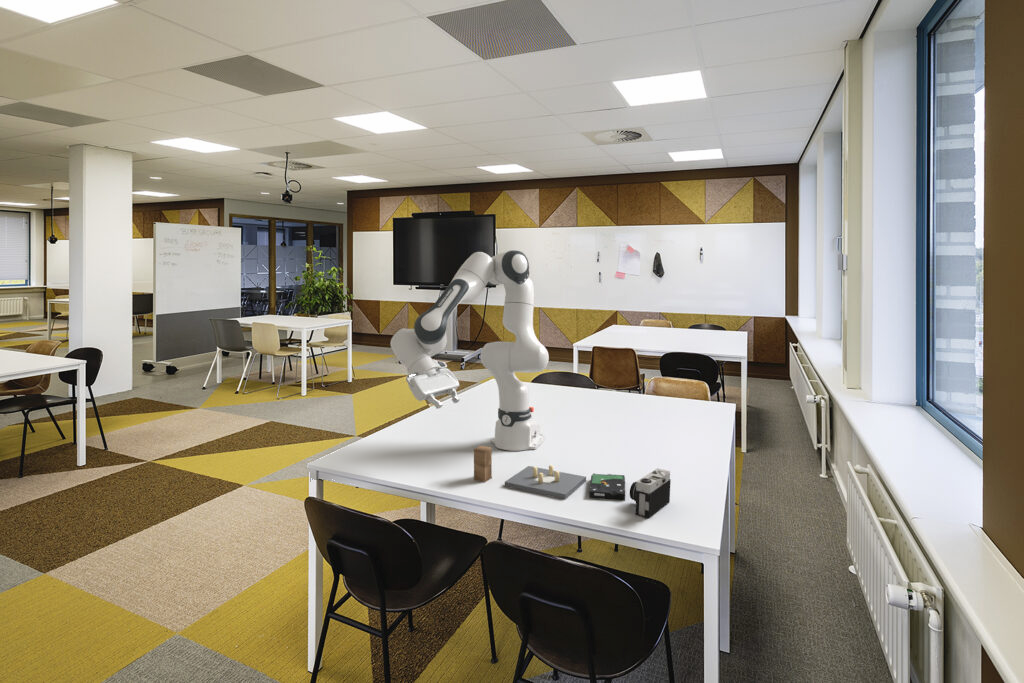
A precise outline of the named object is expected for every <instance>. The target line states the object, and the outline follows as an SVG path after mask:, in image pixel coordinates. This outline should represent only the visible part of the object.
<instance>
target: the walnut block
mask: <svg viewBox="0 0 1024 683" xmlns="http://www.w3.org/2000/svg"><path fill="white" fill-rule="evenodd" d="M492 461H493V460H492V446H490V447H489V446H484V445H479V446H477V447H475V448H473V480H474V481H477V482H482V483H486V482H488V481H489V480H491V479H492V477H493V476H492V475H493V474H492V473H493V471H492V470H493V468H492V465H493V464H492Z"/></svg>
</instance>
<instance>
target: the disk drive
mask: <svg viewBox="0 0 1024 683" xmlns="http://www.w3.org/2000/svg"><path fill="white" fill-rule="evenodd" d="M625 478H626V477H625V475H624V474H623V475H622V474H611V473H610V474H609V473H607V474H601V473H592V474H591V476H590V484H589V490H588V491H589V497H588V498H589V499H597V500H599V499H600V500H611V501H621V502H622V501H624V502H625V501H626V485H625V484H626V479H625Z"/></svg>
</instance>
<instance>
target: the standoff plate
mask: <svg viewBox="0 0 1024 683" xmlns="http://www.w3.org/2000/svg"><path fill="white" fill-rule="evenodd" d="M586 482H587V476H584V475H578V474H573V473H569V472H563V471H558V470H554V465H552V464H551V465H548V469H547V468H543V467H538V466H531V465H528V466H526V467H525V468H523V469H522V470H520V471H519V472H518V473H516V474H514V475H513V476H512V477H510V478H508V479H506V480H505V481H504V487H505V488H510V489H514V490H519V491H525V492H529V493H533V494H539V495H543V496H548V497H553V498H555V499H557V498H558V499H561V500H567V499H568V498H569V497H570V496H571V495H572V494H574V493H575V492H576V491H577V490H579V488H580V487H582V486H583V485H584V484H585V483H586Z"/></svg>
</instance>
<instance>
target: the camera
mask: <svg viewBox="0 0 1024 683" xmlns="http://www.w3.org/2000/svg"><path fill="white" fill-rule="evenodd" d="M670 476H671V471H669V470H667V469H662V468H656V469H654V470H652V471H650V472H649V473H648V474H646V475H644V476H643V477H640V479H638V480H636V481H634V482H632V484H631V485H630V488H629V497H630V499H631V500H633V501H634V502H635V511H634V512H635V514H634V515H635V516H637V517H641V518H645V519H651V517H652V516H654V515H655V514H656V513H657V512H659V511H660V510H661V509H662V508H664V507H666V506H667V505H668V504H669V503H670V502H671V501H670V500H671V483H672V482H671V480H672V479H670V478H671V477H670Z"/></svg>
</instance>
